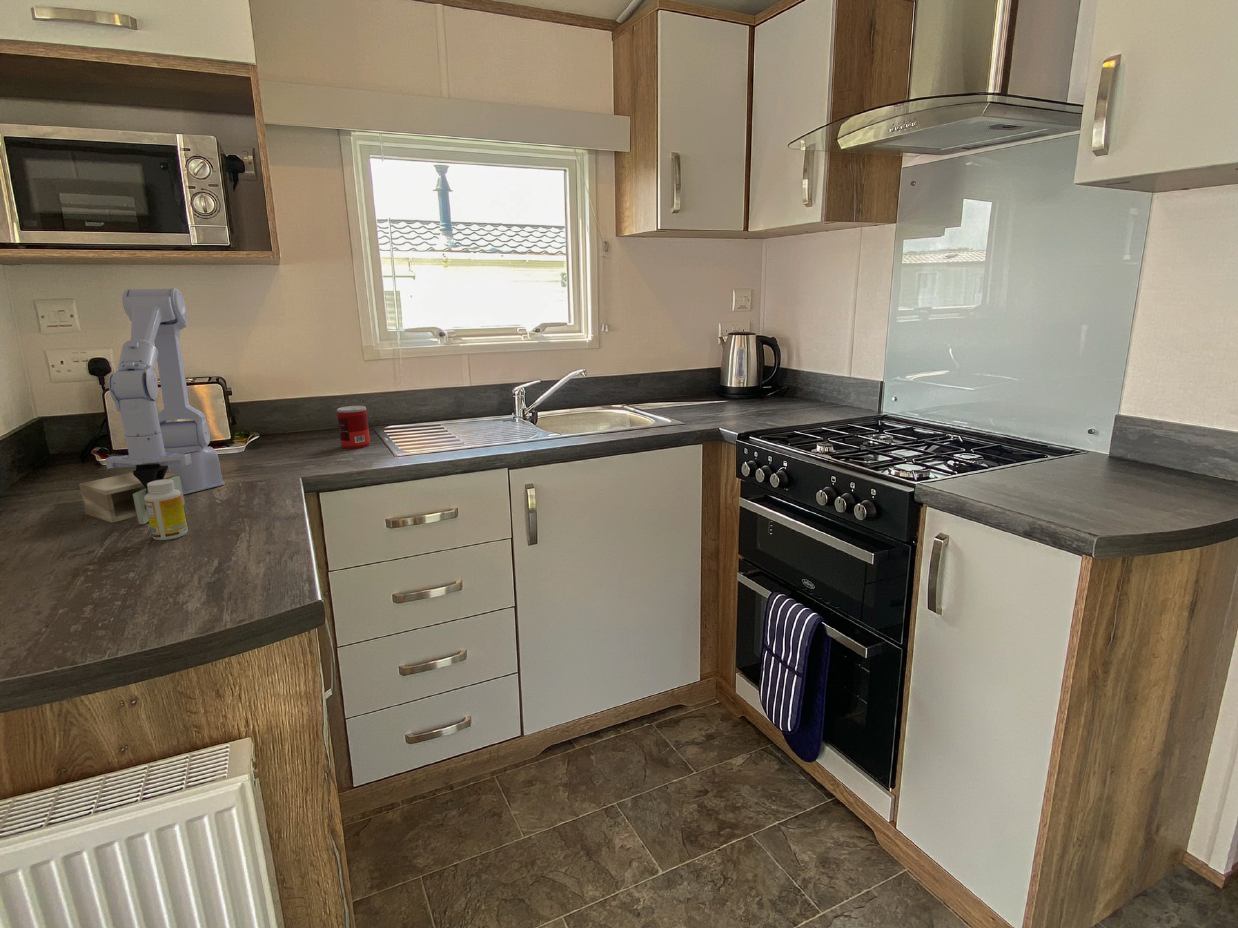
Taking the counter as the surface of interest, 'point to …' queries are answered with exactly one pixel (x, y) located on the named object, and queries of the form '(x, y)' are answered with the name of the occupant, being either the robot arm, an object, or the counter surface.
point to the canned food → (353, 427)
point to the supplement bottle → (165, 510)
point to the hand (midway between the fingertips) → (157, 502)
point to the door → (140, 500)
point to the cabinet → (112, 496)
